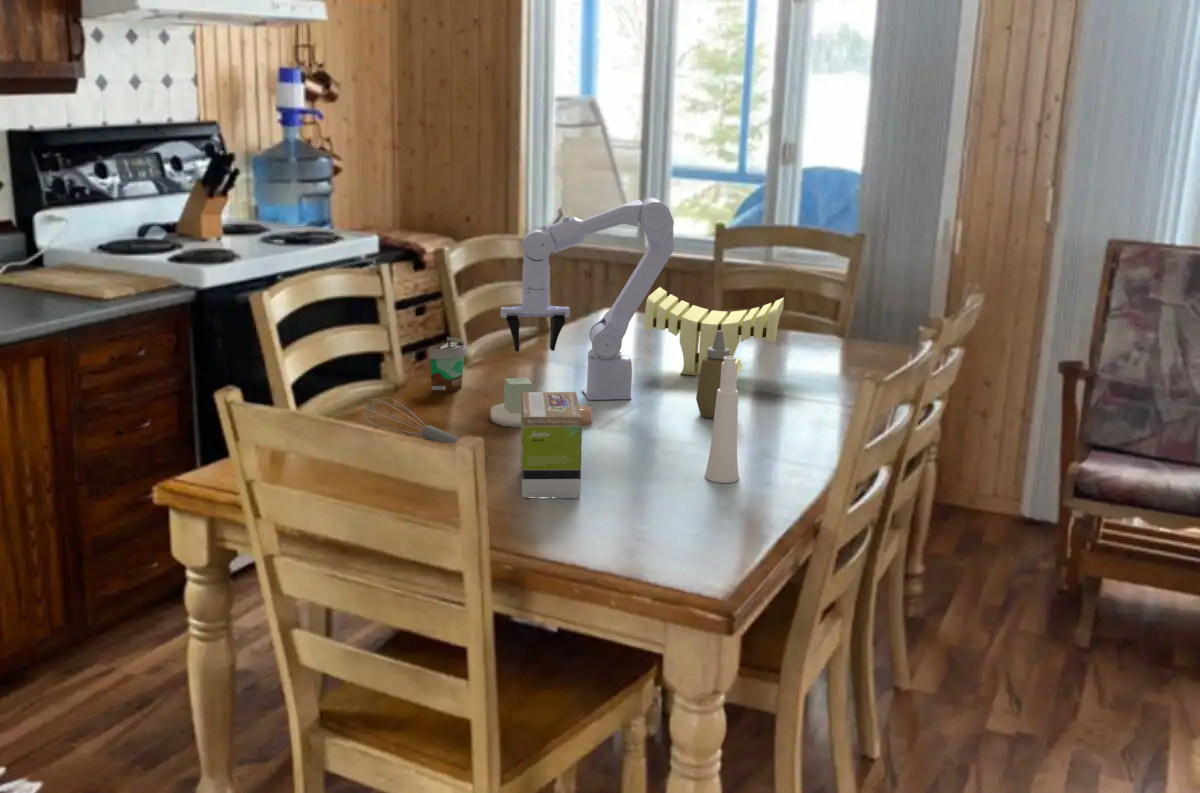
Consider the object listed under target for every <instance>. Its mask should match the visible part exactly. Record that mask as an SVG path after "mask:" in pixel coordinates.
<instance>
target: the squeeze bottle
mask: <svg viewBox="0 0 1200 793" xmlns="http://www.w3.org/2000/svg"><path fill="white" fill-rule="evenodd" d="M729 355H730V349H729V348H726V347H725V344H724V337H723V331H717V333H716V336H715V340H714V343H713V346H711V347H708V348H707V356H708V357H705V358H704V359H702V365H701V371H700V376H698V377H699V379H698V385H697V389H696V390H697V391H696V397H695V399H696V400H695V401H696V404H697V407H698V408H697V409H698V411H699V415H700V416H701V417H703V418H707V419H711V420H712V419H713V420H714V414H715V405H716V397H717V390H718V389H719V388H720V379H721V364H722V362H724V360H723V358H724V357H725V356H729Z"/></svg>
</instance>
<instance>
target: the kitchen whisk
mask: <svg viewBox="0 0 1200 793" xmlns="http://www.w3.org/2000/svg"><path fill="white" fill-rule="evenodd" d="M380 398H382V396H379V397H378V396H377V397H376V398H371V399H370V398H369V401H368V402H367V403H368V406H363V408H364V409H366V410H364V412H363V417H364V419H365V420H366V421H367V422H369V424H370V425H371V426H373V427H374V428H375V427H376V426H377V427H380V428H381V427H382V428H384V429H389V430H392V431H397V432H402V431H403V432H402V433H405V432H406V434H410V433H411V434H410V435H411V436H410V437H422V439H424V440H427V439H428V440H427V441H429V440H432V441H436V442H441V443H455V442H456V441H457V440H458V439H459V438H460V437H459V436H456V435H454V434H451V433H449V432H446V431H443V430H441V429H439V428H438V427H435V426H432V425H429V424H427V425H426V424H425V423H424V422H423V421H422V420H421V419H420V418H419V417H418V416H417V415H416V414H415V413H413V412H412V411H411V410H410V409H409V408H407V407H406V406H405V405H403V404H402V403H400V402H398V401H397V400H395V399H393V398H390V397H388V396H383V398H384V399H389V400H392V401H394V402H395V403H397V404H395V403H391V402H384V401H381V400H379V399H380ZM375 401H378V402H377V403H374V404H373V402H375ZM370 402H371V404H370ZM380 404H386V405H387V406H389V407H391V408H393V409H395V410H396V411H398V412H400V413H401V414H403V415H404V416H406V417H408V418H409V419H411V421H413V422H415V423H416V424H418V425H419V426H418V425H416V424H414V423H411V422H409V421H407V420H405V419H402V418H400V417H398V416H395V415H393V414H390V413H388V412H385V411H382V410H380V409H376V408H372V407H374V406H375V405H380ZM398 404H399V405H398ZM392 405H395V406H397V407H399V408H401V409H402V410H405V411H406V412H408V413H410V414H411V415H412V416H413V417H415V418H416V419H417V420H418V421H419V422H420V423H421V424H420V423H419V422H418V421H416V420H415V419H414V418H412V417H410V416H409V415H407V414H405V413H404V412H402V411H401V410H399V409H398V408H396V407H395V406H392ZM400 405H401V406H400ZM374 410H375V411H374ZM366 411H367V417H366V416H365V415H366ZM377 411H378V412H377ZM370 412H371V414H372V416H373V417H374V418H375V419H376V420H377V421H378V422H379V424H382V425H384V426H382V425H379V424H376V423H373V422H371V420H370V415H369V414H370ZM379 412H381V413H383V414H381V413H379ZM375 413H376V414H378V415H380V416H383V417H385V418H388V419H391V420H392V421H395V422H398V423H400V424H403V425H407V426H409V427H411V428H414V429H417V430H419V431H421V433H420V432H416V434H415V432H413V431H406V430H399V429H393V428H390V427H388V426H385V425H386V424H385V423H383V422H382V421H380V420H379V418H377V417H376V416H375ZM384 414H386V415H389V416H392V417H394V418H396V419H394V418H392V417H389V416H386V415H384ZM367 418H368V419H367ZM397 419H398V420H397ZM399 420H401V421H399ZM402 421H404V422H405V423H404V422H402ZM407 423H408V424H407ZM422 424H423V425H424V426H423V425H422ZM420 426H421V427H420ZM485 454H486V456H488V458H489V460H487V461H488V462H491V457H490V455H489V454H488V453H487V451H486V449H485ZM488 462H487V463H488Z"/></svg>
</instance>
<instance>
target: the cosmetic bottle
mask: <svg viewBox="0 0 1200 793" xmlns="http://www.w3.org/2000/svg"><path fill="white" fill-rule="evenodd" d="M736 359H737V357H735V356H725V357H724V358H723V360H724V362H722V364H721V379H720V388H719V389H718V390H717V397H716V405H715V414H714V419H713V423H712V431H711V432H712V434H711V442H710V447H709V455H708V461H707V464H706V469H705V473H704V478H706V480H708V481H710V482H713V483H716V484H717V483H718V484H733V483H736V482H737V481H738V480H739V479H740V475H739V463H738V424H739V423H738V421H739V420H738V419H739V417H738V416H739V414H738V413H739V391H738V389H737V378H738V377H737V366H738V365H737V363H736V362H735V361H736Z"/></svg>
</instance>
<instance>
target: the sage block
mask: <svg viewBox="0 0 1200 793" xmlns="http://www.w3.org/2000/svg"><path fill="white" fill-rule="evenodd" d="M503 388H504V390H503V392H504V394H503V397H504V400H503V401H504V402H503V403H504V408H505V409H506V410H507V411H508V412H509V413H521V396H522V392H533V383H532V381H530V379H529V378H527V377H511V378H510V377H509V378H506V377H505V378H504V386H503Z"/></svg>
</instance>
